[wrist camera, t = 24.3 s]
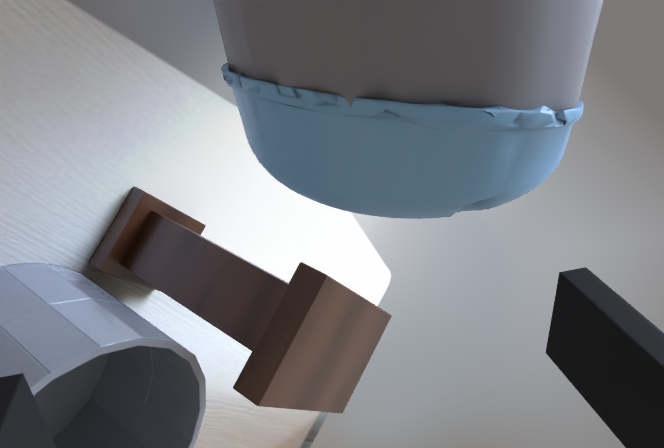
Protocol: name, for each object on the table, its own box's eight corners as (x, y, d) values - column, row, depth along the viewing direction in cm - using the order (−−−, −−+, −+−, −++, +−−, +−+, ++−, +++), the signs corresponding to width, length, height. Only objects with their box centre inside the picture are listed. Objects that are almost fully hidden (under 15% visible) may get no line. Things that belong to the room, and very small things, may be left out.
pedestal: (204, 219, 51) (392, 315, 40) (161, 294, 50) (342, 413, 39) (108, 164, 41) (327, 275, 30) (52, 258, 40) (257, 406, 29)
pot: (-2, 214, 35) (103, 290, 29) (149, 322, 50) (240, 387, 44) (-252, 468, 29) (-186, 628, 23) (2, 507, 44) (84, 612, 38)
